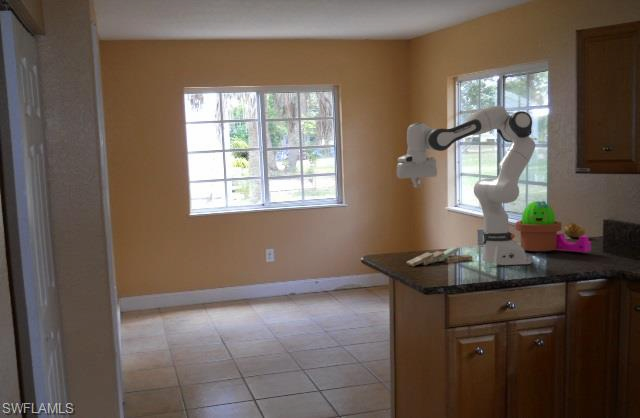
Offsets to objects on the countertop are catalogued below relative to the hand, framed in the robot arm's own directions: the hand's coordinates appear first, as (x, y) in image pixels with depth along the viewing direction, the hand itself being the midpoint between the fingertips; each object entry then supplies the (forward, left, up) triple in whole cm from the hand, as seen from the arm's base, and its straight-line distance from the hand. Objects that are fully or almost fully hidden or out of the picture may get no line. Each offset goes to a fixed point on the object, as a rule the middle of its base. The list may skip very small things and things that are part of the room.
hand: (417, 187), depth 313 cm
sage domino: (-8, +5, -34) cm, 35 cm away
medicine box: (-36, -45, -35) cm, 68 cm away
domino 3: (-12, +4, -35) cm, 38 cm away
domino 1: (-1, +10, -34) cm, 36 cm away
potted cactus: (-61, -30, -35) cm, 76 cm away
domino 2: (-13, +3, -34) cm, 36 cm away
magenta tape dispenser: (-77, -27, -36) cm, 89 cm away
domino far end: (+4, +13, -34) cm, 37 cm away
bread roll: (-88, -74, -35) cm, 121 cm away
